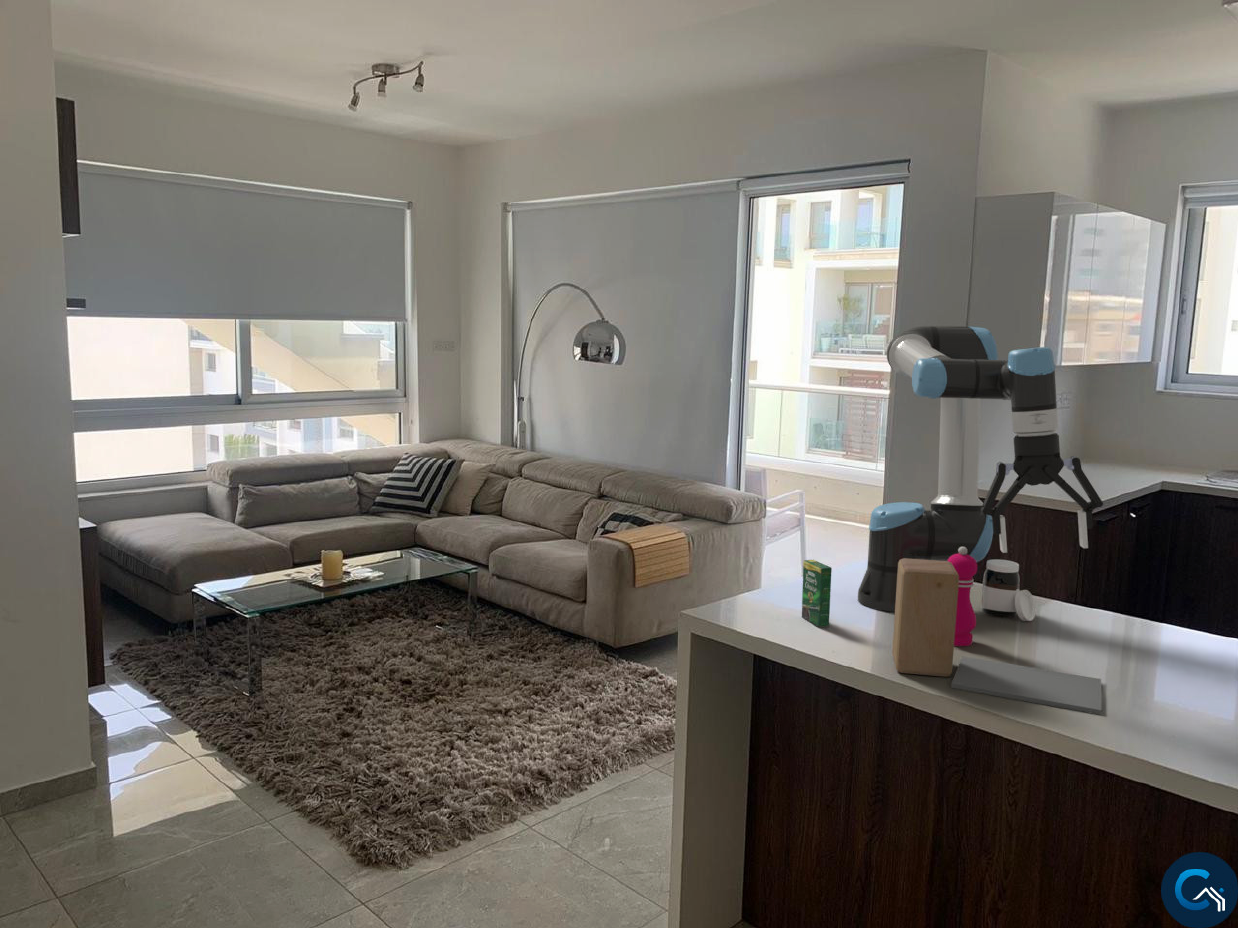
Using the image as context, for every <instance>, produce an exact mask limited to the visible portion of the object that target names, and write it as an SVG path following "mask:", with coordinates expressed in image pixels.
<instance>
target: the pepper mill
mask: <svg viewBox="0 0 1238 928" xmlns="http://www.w3.org/2000/svg"><path fill="white" fill-rule="evenodd" d="M958 552H959V554H954V555H952V556H951V557H949V559H948V560H947V561H948V562H951V563H952V565H953V566H954V568H955V570H956V572H957V573H958V576H959V586H958V599H957V612H956V625H955V638H954V647H968V646H971V645H972V644H973V637H974V636H973V634H972V633H971V632H972V631H973V630H974V629H975V628H976V627H977V617H976V613H975V611H974V608H973V606H972V605H973V604H972V603H971V597H970V596H971V589H972V587H973V586H974V581H975V579H974V578H973V577H974V576H975V575H976V574H977V572H978V564H977V563H978V562H976V561H975V559H974V558H973V557H971V556H970V555H967V548H966V547H960V548H959V549H958Z"/></svg>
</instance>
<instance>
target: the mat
mask: <svg viewBox="0 0 1238 928" xmlns="http://www.w3.org/2000/svg"><path fill="white" fill-rule="evenodd" d="M950 688H952V689H957V690H961V691H962V690H963V691H968V692H972V693H979V694H982V695H983V694H984V695H990V696H995V697H1002V698H1007V699H1011V700H1018V701H1023V702H1029V703H1034V704H1035V703H1036V704H1039V705H1043V706H1044V705H1046V706H1051V707H1055V708H1057V707H1058V708H1061V709H1062V708H1063V709H1067V710H1074V711H1078V710H1079V711H1078V712H1083V711H1085V712H1084V713H1089V712H1091V713H1090V714H1094V713H1097V714H1096V715H1100V714H1101V715H1102V709H1103V708H1102V707H1103V706H1102V679H1101V678H1097V677H1090V676H1087V675H1086V676H1085V675H1079V674H1074V673H1073V674H1072V673H1067V672H1060V671H1055V670H1048V669H1043V668H1037V667H1031V666H1025V665H1018V664H1013V663H1006V662H1002V661H1001V662H1000V661H994V660H989V659H982V658H977V657H971V656H964V655H962V656H961V659H960V662H959V664H958V665H957V668H956V672H955V673H954V676H953V679H952V681H951V687H950Z"/></svg>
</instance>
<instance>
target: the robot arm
mask: <svg viewBox="0 0 1238 928" xmlns="http://www.w3.org/2000/svg"><path fill="white" fill-rule="evenodd" d="M998 354H999V353H998V347H997V342H996V339H995V337H994V335H993V334H992V332H991V331H990V330H989V329H987V328H985V327H976V326H970V325H969V326H937V325H936V326H930V325H922V326H915V327H911V328H908V329H905V330H903V331H901V332H899V333H898V334H896V335H895V336H894V337H893V338H892V339H891V340H890V342H889V344H888V346H887V349H886V359H887V362H888V365H889V366H890V368H891V369H892V370H893V371H894V372H895V373H896V374H898V375H900V376H902V377H907V378H911V387H912V389H913V393H914V395H915V396H917V397H919V398H929V399H937V398H939V399H940V415H939V417H940V420H939V421H940V422H939V423H940V424H939V449H938V450H939V453H938V481H937V482H938V485H937V486H938V489H937V496H936V497H935V498H934V499H933V500H932V501H931V502H930V510H925V507H924V505H923V504H921V503H917V502H907V501H899V502H890V503H885V504H881V505H878V506H876V507H874V509H873V510H872V511H871V513H870V514H871V515H870V520H869V526H868V530H869V533H868V535H869V536H868V549H867V551H868V552H867V553H868V554H867V565H866V566H867V567H866V570H865V573H864V575H863V578H862V581H861V583H860V585H859V588H858V591H857V601H858V603H860V604H861V605H863V606H865V607H868V608H870V609H871V608H872V609H876V610H880V611H885V612H894V613H895V604H896V588H897V573H898V562H899V560H900V559H903V558H907V559H923V560H938V561H947V560H948V559H949V557H951V556H952V555H954V554H959V552H958V549H959V548H960V547H966V548H967V555H970V556H971V557H973V558H974V559H975V561H976V563H978V562H980V561H982V560H983V559H985V558H986V556H987V554H988V552H989V550H990V549H991V545H992V541H993V535H994V534H995V535H999V549H1000V551H1001V552H1002V554H1004V553H1007V554H1008V545H1007V532H1006V530H1007V529H1006V518H1005V516H1004V515H1002V514H1003V512H1004V511H1005V510H1006V509H1007V507H1008V506H1009V505H1010V504H1011V503H1012V502H1013V500H1014V499H1015V497H1016V496H1017V495H1018V494H1019V492H1020V491H1021V490H1023V488H1024V487H1025V486H1026V485H1028V486H1038V485H1045V486H1046V485H1050V484H1052V483H1053V482H1054V483H1055V484H1056V486H1058V487H1059V488H1060V489H1062V491H1063V492H1064V493H1066V494H1067V496H1069V497H1070V498H1071V500H1073V502H1074V503H1076V504H1077V505H1078V507H1080V508H1081V509H1079V510H1077V520H1078V522H1077V523H1078V525H1077V526H1078V537H1079V538H1078V540H1079V546H1080V547H1081V548H1083V549H1089V541H1088V530H1089V529H1090V530H1092V529H1093V526H1094V523H1093V511H1094V510H1095V509H1097V508H1101V507H1103V505H1104V501H1102V499H1101V497H1100V496H1099V494H1098V492H1097V491H1096V490H1095V488H1094V486H1093V485H1092V483H1091V482H1090V480H1089V478H1088V477H1087V475H1086V473H1085V472H1084V470H1083V469H1082V463H1081V459H1080V458H1079V457H1076V456H1074V455H1073V456H1071V457H1069V458H1064V459H1063V458H1062V457H1061V448H1060V446H1061V445H1060V435H1059V434H1058V433H1057V432H1056V431H1058V429H1059V420H1058V418H1059V417H1058V404H1057V386H1056V384H1057V383H1056V364H1055V360H1054V352H1053V350H1052V349H1051V348H1050V347H1048V346H1042V347H1031V348H1022V349H1013V350H1011V351H1009V352H1008V355H1007V356H1008V358H1007V359H999V357H998V356H999V355H998ZM981 400H1003V401H1007V400H1008V401H1010V403H1011V404H1010V406H1011V419H1012V432H1013V433H1014V434H1016V435H1015V436H1014V437H1013V447H1014V449H1013V450H1014V460H1013V463H1003V462H1002V461H999V462H997V463H996V472H995V476H994V479H993V481H992V483H991V484H990V487H989V489H988V492H987V494H986V496H985V499H984V501H982V500H981V499H980V498H979V496H978V493H979V492H978V489H979V488H978V486H979V462H980V461H979V459H980V458H979V457H980V455H979V454H980V424H981V421H980V420H981V419H980V415H981ZM1064 466H1065V467H1066V468H1067V469H1068V470H1070V471H1071V472H1072V474H1073V475H1074V477H1075V478H1076V480H1077V481H1078V483H1079V484H1080V486H1081V488H1082V489H1083V491H1084V493H1085V494H1086V496H1087V498H1089V501H1087V500H1086V499H1085V498H1083V496H1082V495H1080V493H1078V492H1077V491H1076V490H1075V489H1074V488H1073V487H1072V486H1071V485H1070V484H1069V483H1068V482H1067V481H1066V480H1065V479H1064V478H1063V477H1061V475H1060V472H1061V471H1062V469H1063V468H1064ZM1011 471H1014V473H1016V475H1018V476H1017V477H1016V478H1015V480H1014V481H1013V483H1012V485H1010V486H1009V488H1008V490H1007V491H1006V492H1005V493H1004V494H1003V496H1002V497H1001V498H1000V500H999V501H998V502H997V503H996V505H995V506H994V507H993V505H994V503H995V501H996V498H997V497H998V495H999V492H1000V491H1001V487H1002V485H1003V484H1004V482H1005V478H1006V476H1008V475H1009V474H1010V472H1011Z"/></svg>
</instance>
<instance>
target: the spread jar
mask: <svg viewBox="0 0 1238 928" xmlns="http://www.w3.org/2000/svg"><path fill="white" fill-rule="evenodd" d="M985 567H986V569H985V571H984V573H983V579H982V590H981V592H982V593H981V602H980V604H981V605H980V607H981V611H982V612H983V613H984V614H986V615H988V616H992V617H997V618H1013V617H1015V616H1018V618H1019V619H1020V620H1021V621H1022V622H1032V621H1033V620H1034V619H1035V617H1036V602H1035V600H1034V597H1033V595H1032V593H1031V592H1030V591H1029V590H1028V589H1023V590H1022V589H1021V590H1020V581H1021V580H1020V574H1019V570H1020V564H1019V563H1018V562H1015V561H1012V560H1007V559H998V558H997V559H987V561H986V565H985Z"/></svg>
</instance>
